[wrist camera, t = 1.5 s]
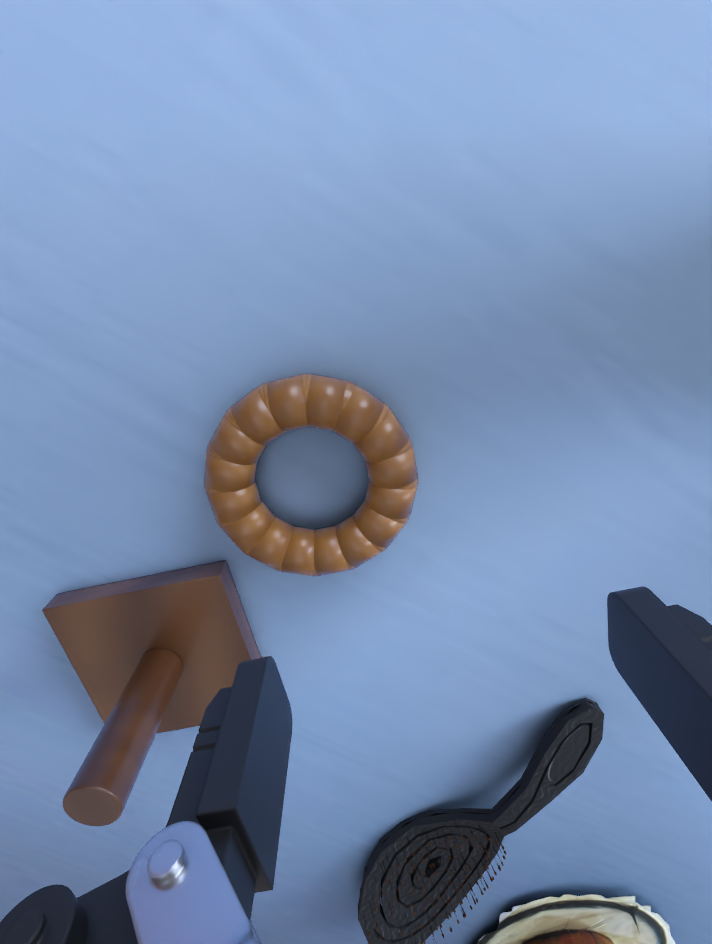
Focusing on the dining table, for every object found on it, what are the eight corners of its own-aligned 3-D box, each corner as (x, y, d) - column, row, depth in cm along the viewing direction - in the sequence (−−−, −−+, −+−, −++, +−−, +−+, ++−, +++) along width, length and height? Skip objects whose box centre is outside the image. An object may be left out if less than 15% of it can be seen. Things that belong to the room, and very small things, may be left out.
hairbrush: (665, 763, 29) (427, 985, 35) (629, 714, 32) (419, 924, 38) (564, 708, 27) (332, 952, 33) (537, 663, 30) (332, 891, 36)
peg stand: (226, 559, 26) (164, 696, 17) (274, 693, 30) (244, 863, 21) (56, 593, 27) (-87, 742, 18) (124, 720, 30) (32, 898, 21)
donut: (393, 350, 22) (398, 357, 20) (427, 539, 26) (435, 562, 24) (183, 397, 23) (166, 408, 21) (246, 574, 27) (237, 600, 24)
